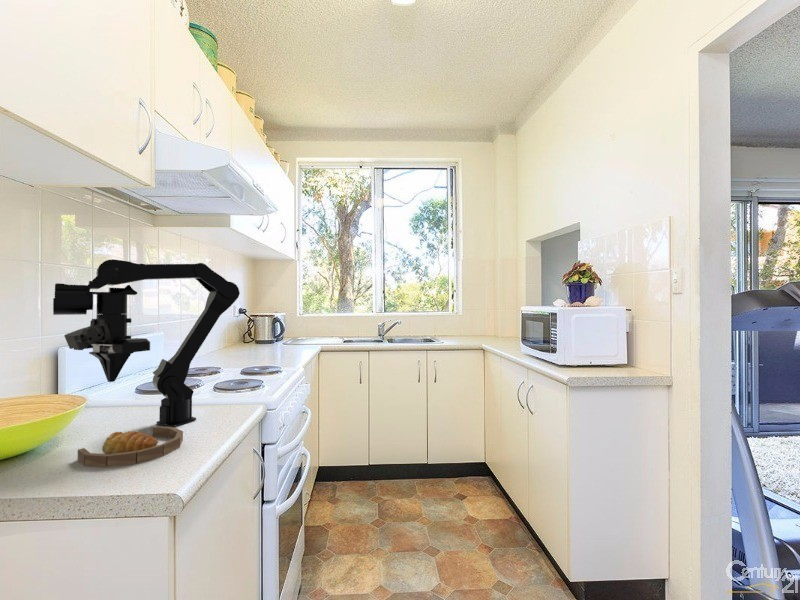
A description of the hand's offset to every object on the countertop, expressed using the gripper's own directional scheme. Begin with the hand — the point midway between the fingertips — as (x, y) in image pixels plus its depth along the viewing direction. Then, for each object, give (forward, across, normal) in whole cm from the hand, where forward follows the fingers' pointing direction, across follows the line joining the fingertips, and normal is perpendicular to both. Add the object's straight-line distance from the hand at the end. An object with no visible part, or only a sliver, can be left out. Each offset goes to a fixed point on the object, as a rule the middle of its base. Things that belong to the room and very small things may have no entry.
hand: (111, 381), depth 90 cm
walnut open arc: (+12, +17, -4) cm, 21 cm away
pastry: (+12, +14, -5) cm, 20 cm away
